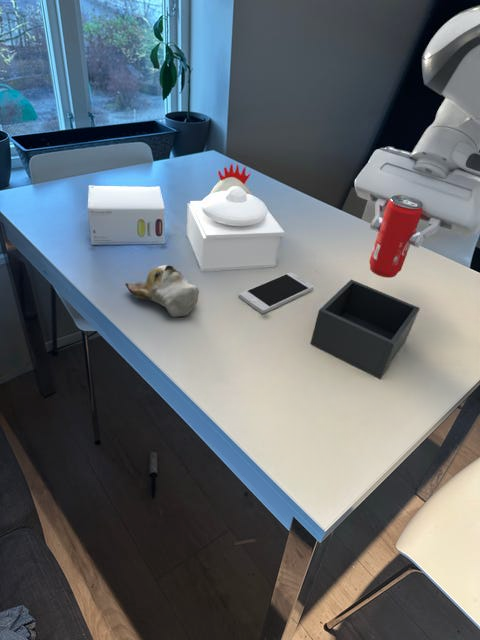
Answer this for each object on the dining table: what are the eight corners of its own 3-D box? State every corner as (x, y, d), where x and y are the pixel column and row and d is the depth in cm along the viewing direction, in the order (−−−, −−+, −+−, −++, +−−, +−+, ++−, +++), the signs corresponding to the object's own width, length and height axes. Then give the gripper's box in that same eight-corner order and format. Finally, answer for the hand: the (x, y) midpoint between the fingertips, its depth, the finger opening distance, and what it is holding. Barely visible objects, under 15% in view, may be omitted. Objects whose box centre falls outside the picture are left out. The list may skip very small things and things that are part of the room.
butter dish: (186, 234, 111) (188, 171, 101) (255, 232, 116) (263, 171, 106) (201, 272, 97) (205, 202, 88) (278, 267, 102) (290, 201, 93)
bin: (405, 340, 85) (420, 307, 80) (380, 379, 76) (394, 344, 71) (341, 311, 91) (351, 279, 86) (310, 344, 82) (318, 309, 77)
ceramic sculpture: (168, 290, 75) (119, 258, 83) (169, 332, 80) (123, 297, 88) (215, 271, 81) (165, 243, 90) (214, 311, 86) (166, 281, 95)
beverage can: (378, 259, 76) (400, 191, 69) (405, 272, 74) (431, 203, 66) (361, 268, 73) (382, 198, 66) (388, 282, 71) (414, 211, 63)
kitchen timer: (249, 236, 113) (257, 178, 104) (197, 226, 115) (200, 168, 106) (259, 214, 124) (266, 160, 115) (211, 206, 126) (214, 151, 117)
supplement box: (90, 246, 101) (86, 207, 96) (92, 220, 111) (88, 184, 106) (165, 244, 105) (165, 207, 100) (160, 220, 115) (160, 184, 110)
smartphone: (238, 296, 91) (238, 292, 90) (289, 274, 100) (290, 271, 99) (262, 314, 87) (263, 310, 87) (313, 289, 96) (314, 286, 95)
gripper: (377, 131, 72) (332, 204, 71) (510, 169, 62) (458, 253, 62) (381, 154, 77) (339, 222, 77) (503, 192, 68) (456, 270, 67)
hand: (393, 236), depth 69 cm, fingers closed on beverage can, 5 cm apart
